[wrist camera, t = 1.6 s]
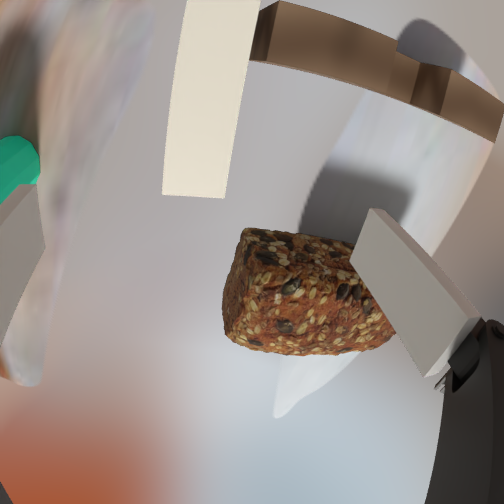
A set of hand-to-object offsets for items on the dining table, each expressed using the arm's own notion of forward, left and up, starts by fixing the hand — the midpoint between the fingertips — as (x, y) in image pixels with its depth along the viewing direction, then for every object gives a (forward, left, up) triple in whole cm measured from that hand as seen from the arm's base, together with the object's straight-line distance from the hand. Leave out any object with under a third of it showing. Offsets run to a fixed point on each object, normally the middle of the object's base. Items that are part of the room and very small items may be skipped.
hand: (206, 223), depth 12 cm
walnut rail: (-8, +14, -17) cm, 23 cm away
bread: (+15, +14, -17) cm, 26 cm away
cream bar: (-5, 0, -17) cm, 17 cm away
